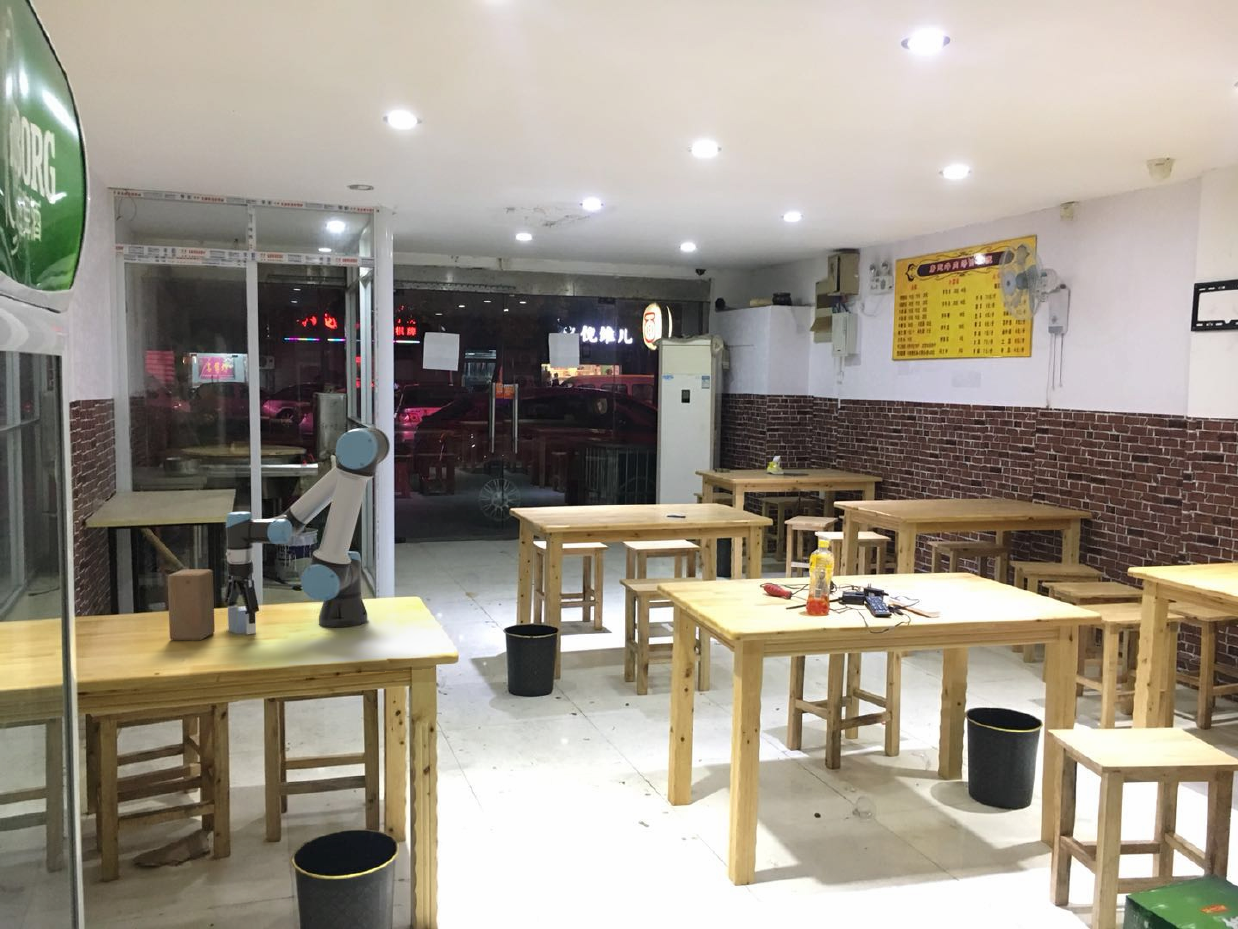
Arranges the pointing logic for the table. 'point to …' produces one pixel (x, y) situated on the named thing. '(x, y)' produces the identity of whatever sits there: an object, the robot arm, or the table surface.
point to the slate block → (237, 619)
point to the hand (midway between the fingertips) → (241, 630)
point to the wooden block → (191, 604)
